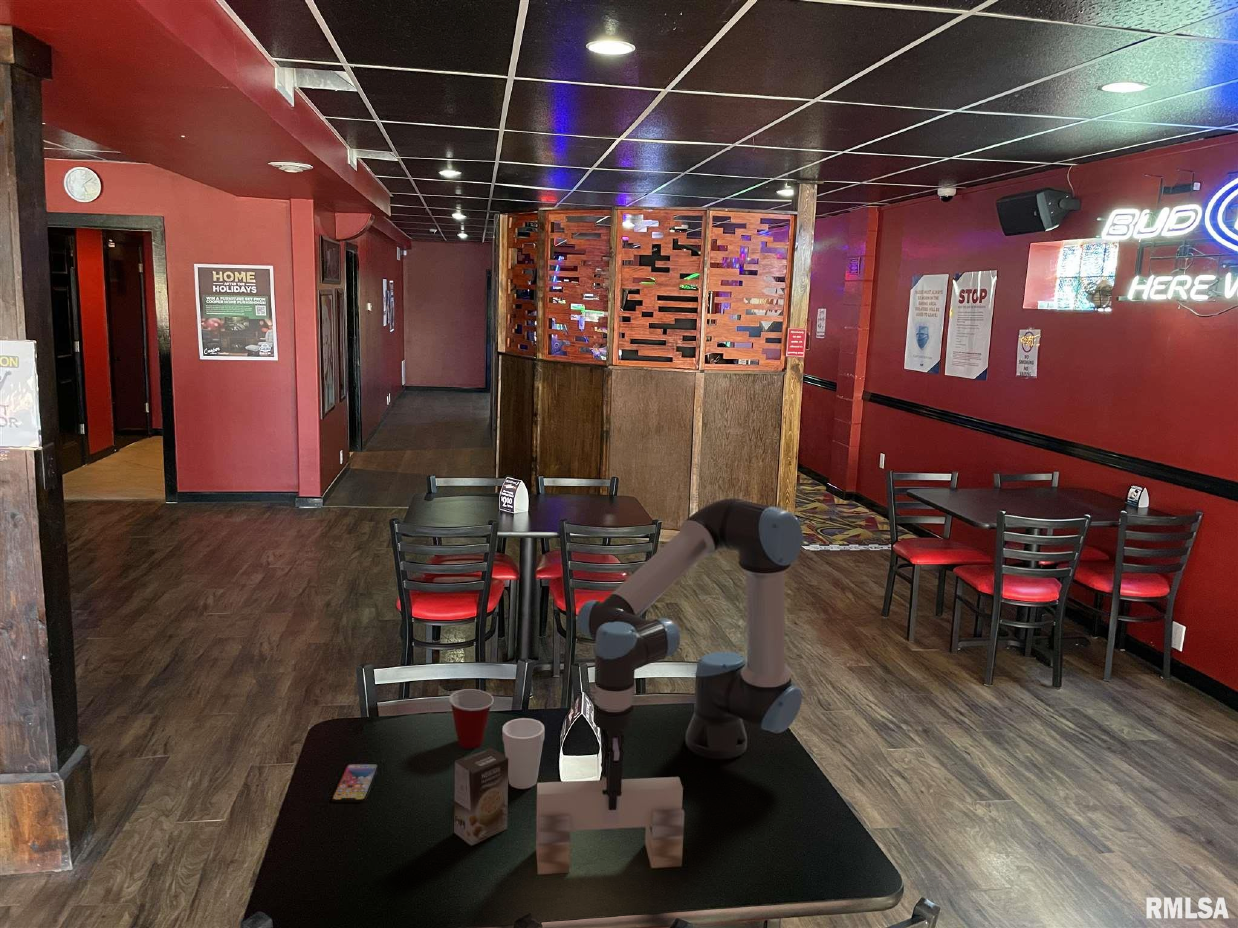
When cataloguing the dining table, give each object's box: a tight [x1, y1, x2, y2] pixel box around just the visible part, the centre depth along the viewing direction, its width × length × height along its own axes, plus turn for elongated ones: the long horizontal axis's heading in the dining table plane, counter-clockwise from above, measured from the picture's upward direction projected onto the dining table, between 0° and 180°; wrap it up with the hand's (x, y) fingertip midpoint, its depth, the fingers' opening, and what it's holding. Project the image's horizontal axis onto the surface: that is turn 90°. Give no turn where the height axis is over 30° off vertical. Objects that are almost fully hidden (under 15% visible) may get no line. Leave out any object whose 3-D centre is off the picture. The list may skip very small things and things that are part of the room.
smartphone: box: [331, 763, 379, 804], centre depth 199 cm, size 7×1×15 cm
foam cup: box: [502, 717, 545, 790], centre depth 200 cm, size 10×9×13 cm
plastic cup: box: [448, 688, 495, 750], centre depth 216 cm, size 11×11×12 cm
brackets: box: [535, 809, 685, 875], centre depth 174 cm, size 28×8×12 cm, turn 98°
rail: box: [536, 776, 684, 833], centre depth 173 cm, size 28×4×8 cm, turn 98°
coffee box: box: [453, 747, 509, 846], centre depth 181 cm, size 9×6×16 cm
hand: (609, 814), depth 174 cm, fingers closed on rail, 4 cm apart
